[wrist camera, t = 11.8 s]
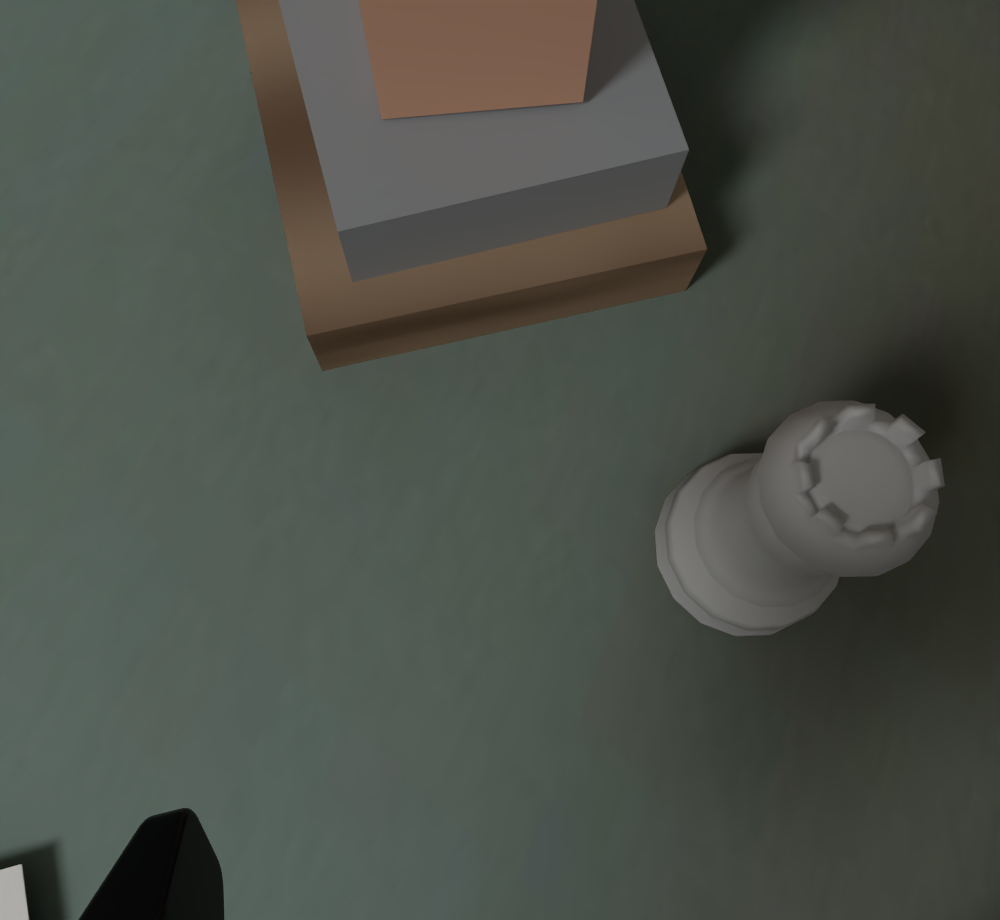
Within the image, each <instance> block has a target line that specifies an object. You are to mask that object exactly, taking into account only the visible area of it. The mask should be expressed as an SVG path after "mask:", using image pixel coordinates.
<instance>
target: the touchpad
mask: <svg viewBox="0 0 1000 920" xmlns="http://www.w3.org/2000/svg"><path fill="white" fill-rule="evenodd" d="M0 920H29V913H28V905H27V898H26V890H25V882H24V875H23V867H22V864H19V865H16V866H12V867H9V868H5V869H1V870H0Z"/></svg>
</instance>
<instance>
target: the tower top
mask: <svg viewBox="0 0 1000 920" xmlns="http://www.w3.org/2000/svg"><path fill="white" fill-rule="evenodd" d="M278 1H279V4H280V8H281V12H282V16H283V20H284V24H285V28H286V32H287V36H288V40H289V44H290V47H291V51H292V55H293V59H294V63H295V67H296V71H297V75H298V79H299V83H300V87H301V90H302V94H303V98H304V102H305V106H306V110H307V114H308V118H309V122H310V126H311V130H312V133H313V137H314V141H315V145H316V149H317V153H318V157H319V161H320V165H321V169H322V173H323V176H324V180H325V184H326V188H327V192H328V196H329V200H330V204H331V208H332V212H333V216H334V220H335V223H336V227H337V231H338V235H339V238H340V241H341V245H342V248H343V252H344V255H345V258H346V262H347V265H348V269H349V272H350V275H351V279H352V282H356V281H360V280H365V279H369V278H373V277H377V276H381V275H386V274H390V273H394V272H398V271H403V270H407V269H411V268H415V267H420V266H424V265H428V264H432V263H436V262H440V261H445V260H449V259H453V258H457V257H461V256H466V255H470V254H474V253H478V252H482V251H487V250H491V249H495V248H499V247H503V246H508V245H512V244H516V243H520V242H524V241H528V240H533V239H537V238H541V237H545V236H549V235H554V234H558V233H562V232H566V231H570V230H575V229H579V228H583V227H587V226H591V225H596V224H600V223H604V222H608V221H612V220H616V219H621V218H625V217H629V216H633V215H637V214H642V213H646V212H650V211H654V210H658V209H663V208H667V205H668V203H669V200H670V197H671V195H672V192H673V190H674V187H675V185H676V182H677V179H678V177H679V174H680V172H681V169H682V167H683V164H684V161H685V159H686V156H687V154H688V151H689V148H688V145H687V143H686V140H685V137H684V135H683V132H682V129H681V126H680V124H679V121H678V118H677V115H676V113H675V110H674V107H673V105H672V102H671V99H670V96H669V94H668V91H667V88H666V85H665V83H664V80H663V77H662V75H661V72H660V69H659V66H658V64H657V61H656V58H655V55H654V53H653V50H652V47H651V45H650V42H649V39H648V36H647V34H646V31H645V28H644V25H643V23H642V20H641V17H640V15H639V12H638V9H637V6H636V4H635V1H634V0H597V5H596V12H595V19H594V26H593V34H592V41H591V48H590V55H589V62H588V69H587V76H586V84H585V91H584V98H583V102H578V103H566V104H555V105H543V106H531V107H520V108H508V109H496V110H485V111H473V112H461V113H450V114H438V115H426V116H415V117H403V118H391V119H381V114H380V109H379V104H378V99H377V93H376V88H375V83H374V78H373V73H372V67H371V62H370V57H369V52H368V47H367V42H366V36H365V31H364V26H363V21H362V16H361V10H360V5H359V0H278Z"/></svg>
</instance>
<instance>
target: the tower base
mask: <svg viewBox="0 0 1000 920" xmlns="http://www.w3.org/2000/svg"><path fill="white" fill-rule="evenodd" d="M236 3H237V8H238V13H239V17H240V22H241V27H242V32H243V36H244V41H245V46H246V50H247V55H248V60H249V65H250V69H251V74H252V79H253V84H254V88H255V93H256V98H257V103H258V107H259V112H260V117H261V122H262V126H263V131H264V136H265V140H266V145H267V150H268V155H269V159H270V164H271V169H272V174H273V178H274V183H275V188H276V193H277V197H278V202H279V207H280V211H281V216H282V221H283V226H284V230H285V235H286V240H287V245H288V249H289V254H290V259H291V264H292V268H293V273H294V278H295V282H296V287H297V292H298V297H299V301H300V306H301V311H302V316H303V320H304V325H305V330H306V335H307V338H308V340H309V342H310V344H311V346H312V349H313V351H314V353H315V355H316V358H317V360H318V362H319V364H320V366H321V369H322V371H324V370H329V369H333V368H338V367H342V366H347V365H351V364H356V363H360V362H365V361H369V360H374V359H378V358H383V357H387V356H392V355H396V354H401V353H406V352H410V351H415V350H419V349H424V348H428V347H433V346H437V345H442V344H446V343H451V342H455V341H460V340H464V339H469V338H473V337H478V336H482V335H487V334H491V333H496V332H500V331H505V330H509V329H514V328H518V327H523V326H527V325H532V324H536V323H541V322H545V321H550V320H555V319H559V318H564V317H568V316H573V315H577V314H582V313H586V312H591V311H595V310H600V309H604V308H609V307H613V306H618V305H622V304H627V303H631V302H636V301H640V300H645V299H649V298H654V297H658V296H663V295H667V294H672V293H676V292H681V291H685V290H686V289H687V287H688V285H689V283H690V281H691V279H692V278H693V276H694V274H695V272H696V270H697V268H698V266H699V264H700V262H701V260H702V258H703V257H704V255H705V253H706V251H707V246H706V243H705V240H704V237H703V234H702V231H701V228H700V225H699V222H698V219H697V216H696V213H695V210H694V207H693V204H692V201H691V198H690V195H689V192H688V189H687V186H686V183H685V180H684V177H683V174H682V171H681V172H680V174H679V177H678V179H677V182H676V185H675V187H674V190H673V192H672V195H671V197H670V200H669V203H668V205H667V208H663V209H658V210H654V211H650V212H646V213H642V214H637V215H633V216H629V217H625V218H621V219H616V220H612V221H608V222H604V223H600V224H596V225H591V226H587V227H583V228H579V229H575V230H570V231H566V232H562V233H558V234H554V235H549V236H545V237H541V238H537V239H533V240H528V241H524V242H520V243H516V244H512V245H508V246H503V247H499V248H495V249H491V250H487V251H482V252H478V253H474V254H470V255H466V256H461V257H457V258H453V259H449V260H445V261H440V262H436V263H432V264H428V265H424V266H420V267H415V268H411V269H407V270H403V271H398V272H394V273H390V274H386V275H381V276H377V277H373V278H369V279H365V280H360V281H356V282H352V279H351V275H350V272H349V269H348V265H347V262H346V258H345V255H344V252H343V248H342V245H341V241H340V238H339V235H338V231H337V227H336V223H335V220H334V216H333V212H332V208H331V204H330V200H329V196H328V192H327V188H326V184H325V180H324V176H323V173H322V169H321V165H320V161H319V157H318V153H317V149H316V145H315V141H314V137H313V133H312V130H311V126H310V122H309V118H308V114H307V110H306V106H305V102H304V98H303V94H302V90H301V87H300V83H299V79H298V75H297V71H296V67H295V63H294V59H293V55H292V51H291V47H290V44H289V40H288V36H287V32H286V28H285V24H284V20H283V16H282V12H281V8H280V4H279V1H278V0H236Z"/></svg>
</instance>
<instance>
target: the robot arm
mask: <svg viewBox="0 0 1000 920" xmlns="http://www.w3.org/2000/svg"><path fill="white" fill-rule="evenodd" d="M79 920H224V893H223V878H222V872H221V867H220V864H219V861H218V859H217V856H216V854H215V852H214V850H213V848H212V846H211V844H210V842H209V840H208V838H207V836H206V834H205V832H204V830H203V827H202V825H201V823H200V821H199V819H198V817H197V816H196V814H195V813H194V812H193V811H192V810H191V809H189V808H182V809H178V810H174V811H170V812H166V813H162V814H158V815H154V816H151V817H149V818H147V819H146V820H145V821H144V822H143V823H142V824H141V825H140V826H139V828H138V829H137V831H136V833H135V834H134V836H133V837H132V839H131V840H130V842H129V843H128V845H127V846H126V848H125V849H124V851H123V852H122V854H121V855H120V857H119V859H118V860H117V862H116V863H115V865H114V866H113V868H112V869H111V871H110V872H109V874H108V875H107V877H106V878H105V880H104V881H103V883H102V885H101V886H100V888H99V889H98V891H97V892H96V894H95V895H94V897H93V898H92V900H91V901H90V903H89V904H88V906H87V907H86V909H85V911H84V912H83V914H82V915H81V917H80V918H79Z"/></svg>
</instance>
